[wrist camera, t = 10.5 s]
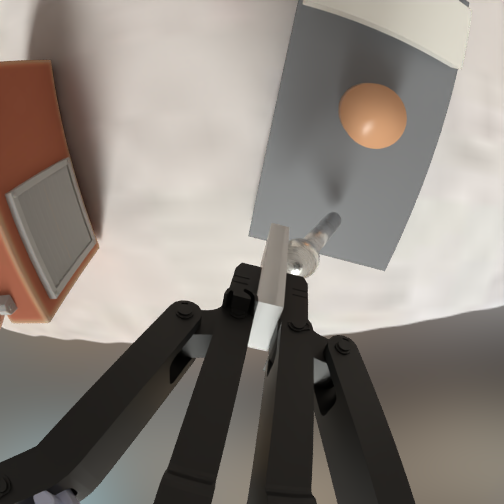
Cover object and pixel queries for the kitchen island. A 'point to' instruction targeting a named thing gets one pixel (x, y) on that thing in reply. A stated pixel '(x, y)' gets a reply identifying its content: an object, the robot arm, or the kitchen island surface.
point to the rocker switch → (412, 23)
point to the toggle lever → (311, 246)
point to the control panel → (37, 198)
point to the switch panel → (348, 138)
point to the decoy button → (372, 115)
